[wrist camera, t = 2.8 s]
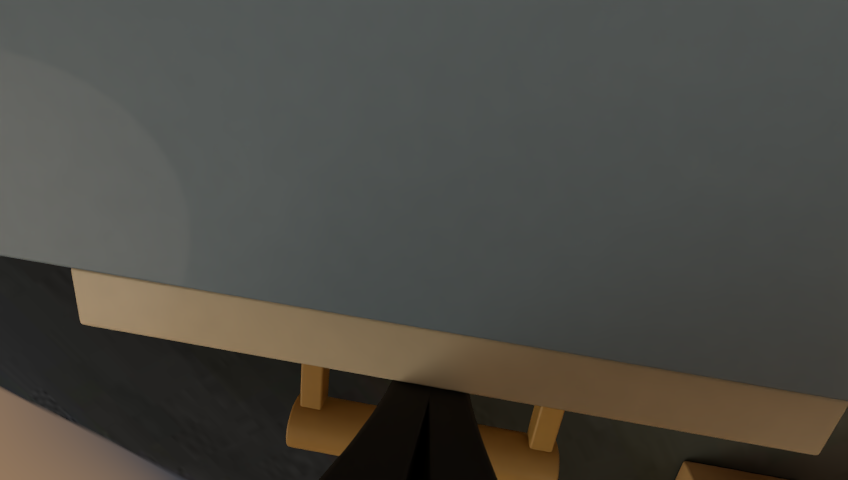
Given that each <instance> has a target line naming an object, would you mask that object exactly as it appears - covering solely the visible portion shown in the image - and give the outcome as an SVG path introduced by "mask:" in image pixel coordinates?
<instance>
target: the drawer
mask: <svg viewBox="0 0 848 480" xmlns="http://www.w3.org/2000/svg"><path fill="white" fill-rule="evenodd" d="M71 272H72V278H73V284H74V289H75V295H76V301H77V307H78V312H79V318H80V322H81V324H83V325H89V326H94V327H100V328H106V329H111V330H117V331H122V332H128V333H134V334H139V335H145V336H150V337H156V338H162V339H167V340H173V341H178V342H184V343H190V344H195V345H201V346H206V347H212V348H218V349H223V350H229V351H234V352H240V353H246V354H251V355H257V356H262V357H268V358H274V359H279V360H285V361H290V362H296V363H302V368H301V393H300V394H299V396H298V397H297V399H296V401H295V403H294V405H293V407H292V410H291V413H290V417H289V421H288V425H287V432H286V442H287V445H288V446H289V447H294V448H300V449H305V450H310V451H315V452H321V453H326V454H331V455H337V456H340V455H341V453H342V452H343V451H344V450H345V449H346V447H347V446H348V445H349V444H350V442H351V441H352V440H353V438H354V437H355V436H356V434H357V433H358V432H359V430H360V429H361V428H362V426H363V425H364V424H365V422H366V421H367V420H368V418H369V417H370V416H371V414H372V413H373V411H374V410H375V408H376V407H377V406H376V405H370V404H365V403H359V402H354V401H348V400H343V399H337V398H332V397H327V396H328V384H329V369H335V370H341V371H346V372H352V373H358V374H363V375H369V376H374V377H380V378H386V379H391V380H397V381H402V382H408V383H413V384H419V385H425V386H430V387H436V388H441V389H447V390H453V391H458V392H464V393H469V394H475V395H481V396H486V397H492V398H497V399H503V400H509V401H514V402H520V403H525V404H531V405H535V406H534V410H533V413H532V417H531V421H530V424H529V428H528V432H527V433H524V432H519V431H513V430H508V429H502V428H497V427H491V426H486V425H480V424H477V425H478V428H479V431H480V434H481V437H482V440H483V443H484V446H485V449H486V451H487V454H488V456H489V459H490V461H491V464H492V467H493V469H494V472H495V474H496V477H497V479H498V480H558V475H559V451H558V446H557V442H556V437H557V434H558V431H559V427H560V424H561V421H562V418H563V414H564V411H570V412H576V413H581V414H587V415H593V416H598V417H604V418H609V419H615V420H621V421H626V422H632V423H637V424H643V425H649V426H654V427H660V428H665V429H671V430H677V431H682V432H688V433H693V434H699V435H705V436H710V437H716V438H721V439H727V440H733V441H738V442H744V443H749V444H755V445H760V446H766V447H772V448H777V449H783V450H788V451H794V452H800V453H805V454H811V455H818V454H820V452H821V450H822V448H823V447H824V445H825V443H826V442H827V440H828V438H829V437H830V435H831V433H832V432H833V430H834V428H835V427H836V425H837V423H838V422H839V420H840V418H841V417H842V415H843V413H844V412H845V410H846V408H847V406H848V401H844V400H838V399H832V398H827V397H821V396H815V395H809V394H803V393H797V392H792V391H786V390H780V389H774V388H768V387H762V386H757V385H751V384H745V383H739V382H733V381H728V380H722V379H716V378H710V377H704V376H698V375H693V374H687V373H681V372H675V371H669V370H664V369H658V368H652V367H646V366H640V365H634V364H629V363H623V362H617V361H611V360H605V359H600V358H594V357H588V356H582V355H576V354H570V353H565V352H559V351H553V350H547V349H541V348H535V347H530V346H524V345H518V344H512V343H506V342H501V341H495V340H489V339H483V338H477V337H471V336H466V335H460V334H454V333H448V332H442V331H437V330H431V329H425V328H419V327H413V326H407V325H402V324H396V323H390V322H384V321H378V320H373V319H367V318H361V317H355V316H349V315H343V314H338V313H332V312H326V311H320V310H314V309H308V308H303V307H297V306H291V305H285V304H279V303H274V302H268V301H262V300H256V299H250V298H244V297H239V296H233V295H227V294H221V293H215V292H210V291H204V290H198V289H192V288H186V287H180V286H175V285H169V284H163V283H157V282H151V281H145V280H140V279H134V278H128V277H122V276H116V275H111V274H105V273H99V272H93V271H87V270H81V269H76V268H72V269H71Z"/></svg>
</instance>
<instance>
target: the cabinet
mask: <svg viewBox="0 0 848 480" xmlns="http://www.w3.org/2000/svg"><path fill="white" fill-rule="evenodd" d="M0 256H6V257H12V258H17V259H23V260H29V261H35V262H41V263H47V264H52V265H58V266H64V267H70V268H76V269H81V270H87V271H93V272H99V273H105V274H111V275H116V276H122V277H128V278H134V279H140V280H145V281H151V282H157V283H163V284H169V285H175V286H180V287H186V288H192V289H198V290H204V291H210V292H215V293H221V294H227V295H233V296H239V297H244V298H250V299H256V300H262V301H268V302H274V303H279V304H285V305H291V306H297V307H303V308H308V309H314V310H320V311H326V312H332V313H338V314H343V315H349V316H355V317H361V318H367V319H373V320H378V321H384V322H390V323H396V324H402V325H407V326H413V327H419V328H425V329H431V330H437V331H442V332H448V333H454V334H460V335H466V336H471V337H477V338H483V339H489V340H495V341H501V342H506V343H512V344H518V345H524V346H530V347H535V348H541V349H547V350H553V351H559V352H565V353H570V354H576V355H582V356H588V357H594V358H600V359H605V360H611V361H617V362H623V363H629V364H634V365H640V366H646V367H652V368H658V369H664V370H669V371H675V372H681V373H687V374H693V375H698V376H704V377H710V378H716V379H722V380H728V381H733V382H739V383H745V384H751V385H757V386H762V387H768V388H774V389H780V390H786V391H792V392H797V393H803V394H809V395H815V396H821V397H827V398H832V399H838V400H844V401H848V0H0Z"/></svg>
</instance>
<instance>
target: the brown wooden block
mask: <svg viewBox="0 0 848 480" xmlns="http://www.w3.org/2000/svg"><path fill="white" fill-rule="evenodd" d="M675 480H788V479H782V478H777V477H771V476H766V475H760V474H755V473H749V472H744V471H738V470H733V469H727V468H722V467H716V466H711V465H706V464H700V463H695V462H689V461H684V462H683V464H682V466H681V468H680V470H679V472H678V475H677V477H676V479H675Z"/></svg>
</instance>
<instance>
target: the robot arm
mask: <svg viewBox="0 0 848 480" xmlns="http://www.w3.org/2000/svg"><path fill="white" fill-rule="evenodd" d="M319 480H498V479H497V477H496V474H495V472H494V469H493V467H492V464H491V461H490V459H489V456H488V454H487V451H486V449H485V446H484V443H483V440H482V437H481V434H480V431H479V428H478V425H477V422H476V419H475V415H474V412H473V408H472V404H471V400H470V396H469V393H464V392H458V391H453V390H447V389H441V388H436V387H430V386H425V385H419V384H413V383H408V382H402V381H397V380H392V382H391V384H390V386H389V388H388V390H387V391H386V393H385V395H384V396H383V398H382V399H381V401H380V402H379V404H378V405H377V407H376V408H375V410H374V411H373V413H372V414H371V416H370V417H369V418H368V420H367V421H366V422H365V424H364V425H363V426H362V428H361V429H360V430H359V432H358V433H357V434H356V436H355V437H354V438H353V440H352V441H351V442H350V444H349V445H348V446H347V447H346V449H345V450H344V451H343V452H342V453H341V455H340V456H339V457H338V458H337V459H336V460H335V462H334V463H333V464H332V465H331V466H330V467H329V469H328V470H327V471H326V472H325V473H324V474H323V476H322V477H321V478H320V479H319Z"/></svg>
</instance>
